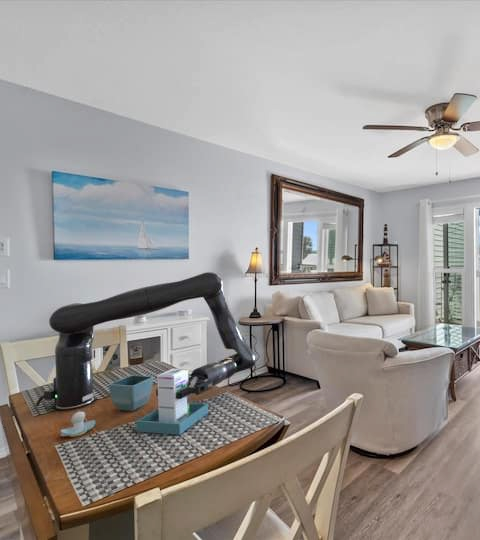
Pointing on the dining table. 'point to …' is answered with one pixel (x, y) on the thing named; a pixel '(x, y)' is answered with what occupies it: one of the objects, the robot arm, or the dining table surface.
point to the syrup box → (172, 396)
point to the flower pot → (131, 392)
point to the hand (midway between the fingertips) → (167, 394)
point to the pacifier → (78, 425)
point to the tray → (154, 426)
